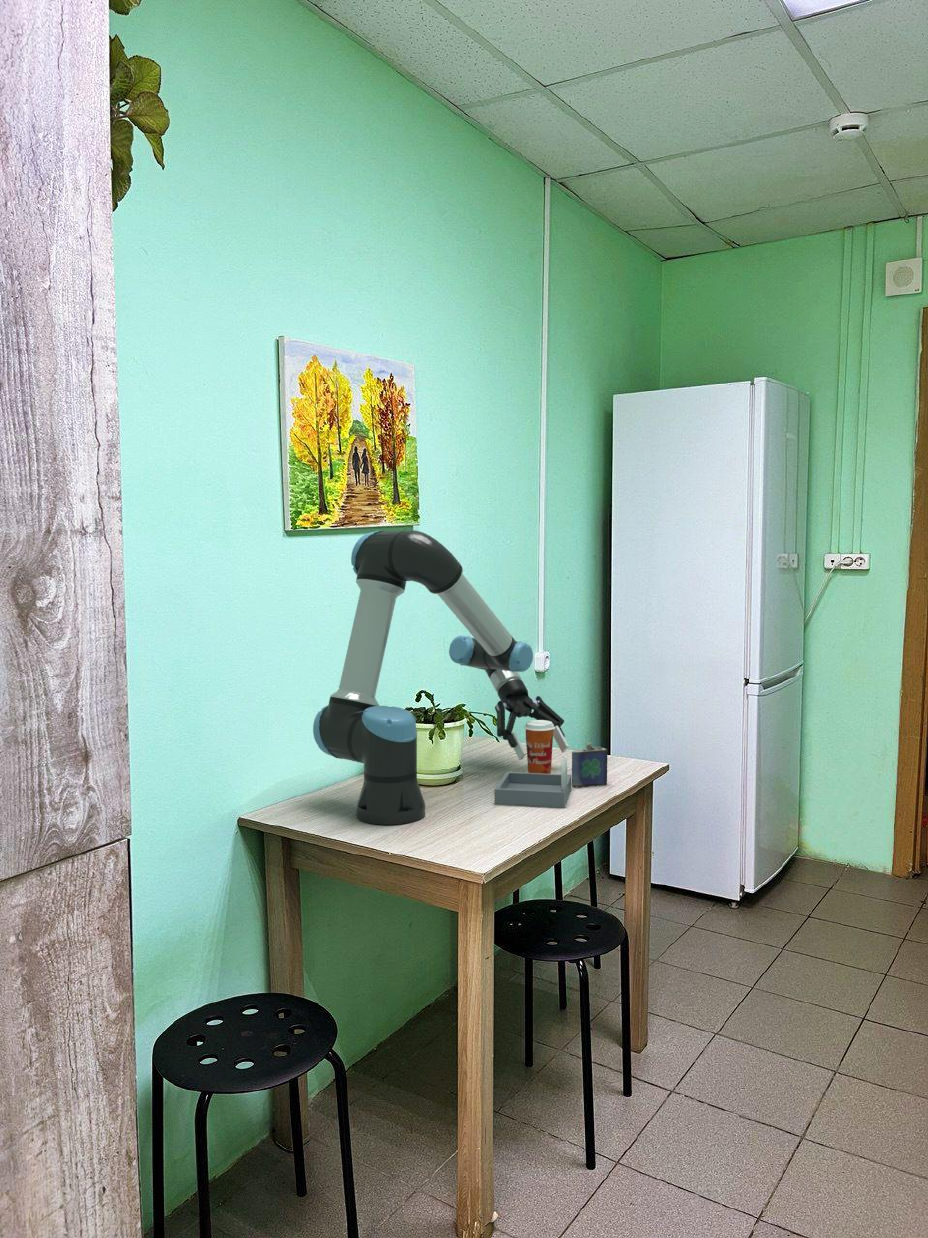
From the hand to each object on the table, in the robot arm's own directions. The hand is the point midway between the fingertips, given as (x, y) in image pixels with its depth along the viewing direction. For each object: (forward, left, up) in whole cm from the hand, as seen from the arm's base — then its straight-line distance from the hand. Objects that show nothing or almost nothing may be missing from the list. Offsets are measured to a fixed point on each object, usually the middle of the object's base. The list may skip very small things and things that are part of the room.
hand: (544, 753), depth 231 cm
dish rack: (0, -17, -6) cm, 18 cm away
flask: (+12, -5, -7) cm, 14 cm away
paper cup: (-1, +1, -7) cm, 7 cm away
